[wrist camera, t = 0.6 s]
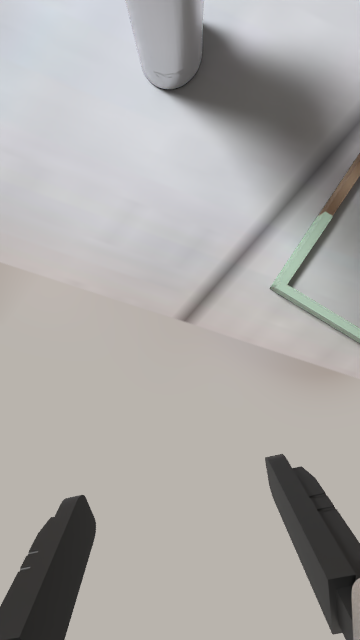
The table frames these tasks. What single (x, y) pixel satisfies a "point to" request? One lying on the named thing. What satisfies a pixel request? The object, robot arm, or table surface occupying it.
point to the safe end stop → (300, 298)
